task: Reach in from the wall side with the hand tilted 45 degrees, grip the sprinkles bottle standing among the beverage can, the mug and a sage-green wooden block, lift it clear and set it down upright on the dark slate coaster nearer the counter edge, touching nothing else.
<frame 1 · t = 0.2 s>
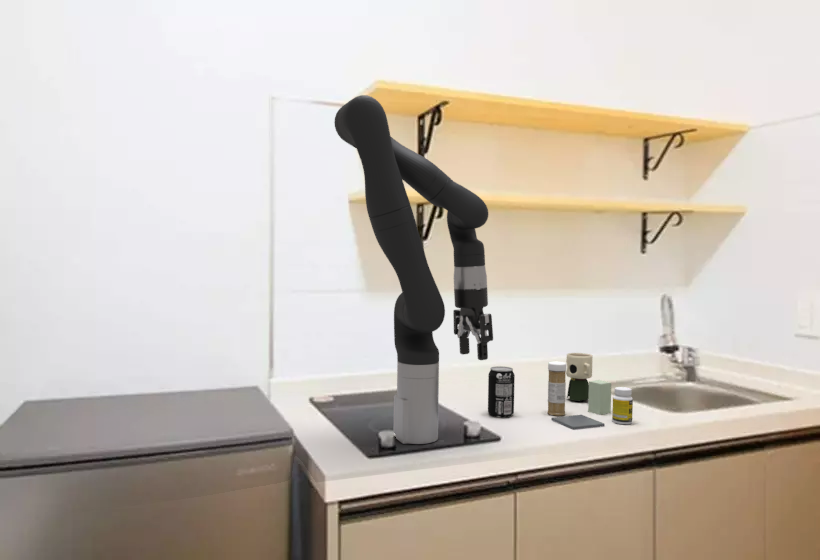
hand: (473, 356, 147), 18 cm above the table, tool pointing down, fingers open, 8 cm apart
sage block: (599, 412, 168), on the table
slate coaster: (577, 423, 157), on the table
character mug: (578, 401, 181), on the table
sprinkles bottle: (556, 414, 165), on the table
supplement bottle: (622, 423, 158), on the table
beverage can: (500, 415, 164), on the table
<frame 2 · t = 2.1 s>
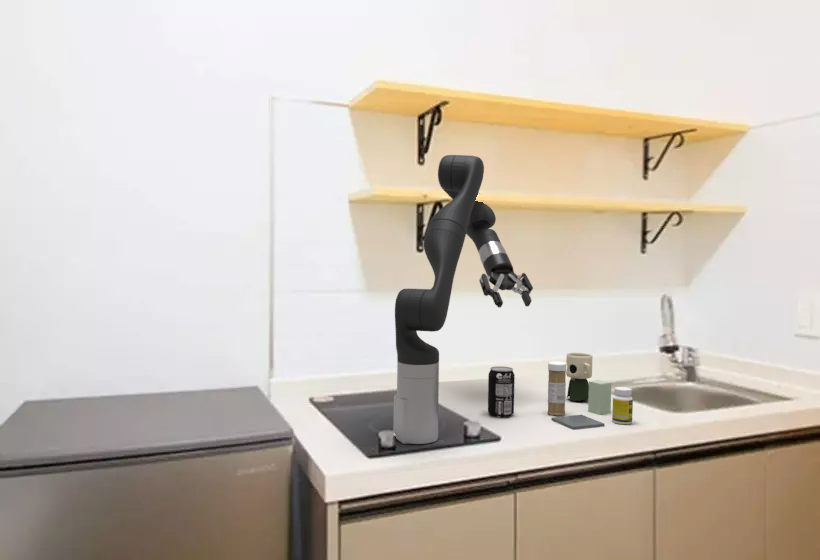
hand: (514, 305, 173), 27 cm above the table, tool tilted 45°, fingers open, 8 cm apart
nothing on the table moved.
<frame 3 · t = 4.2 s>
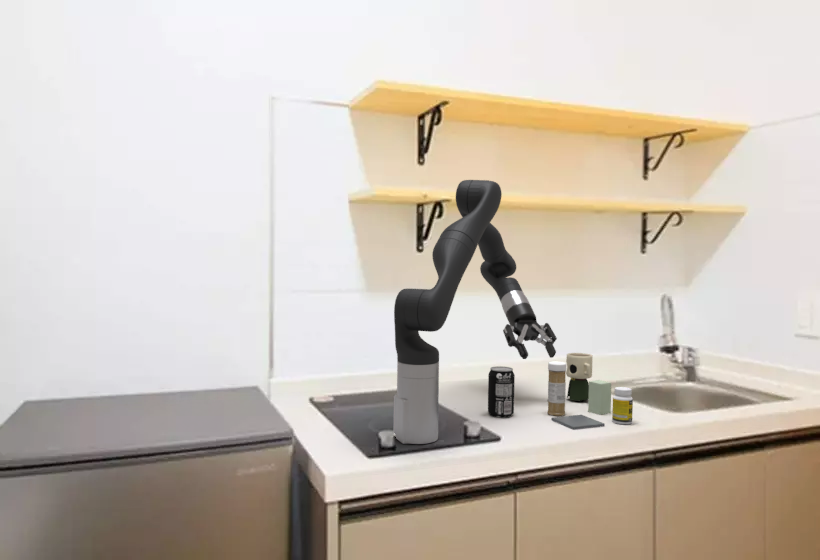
hand: (539, 356, 172), 14 cm above the table, tool tilted 45°, fingers open, 8 cm apart
nothing on the table moved.
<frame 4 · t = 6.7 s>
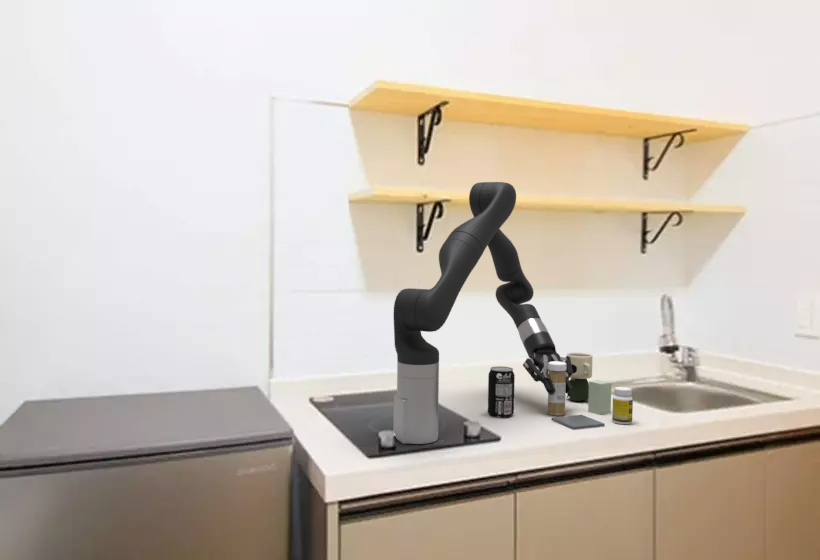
hand: (561, 392, 163), 6 cm above the table, tool tilted 45°, fingers closed on sprinkles bottle, 4 cm apart
sprinkles bottle: (556, 414, 165), on the table, touching gripper
everything else where it was.
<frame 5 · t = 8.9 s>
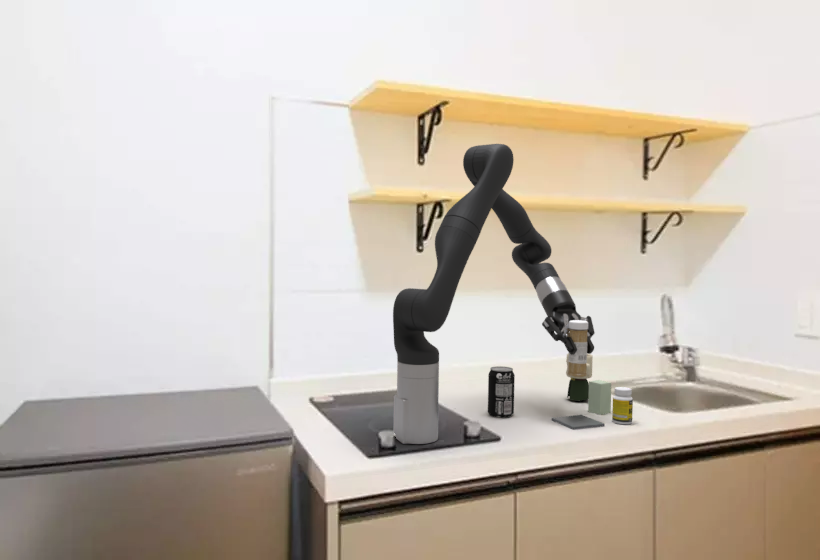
hand: (582, 351, 155), 18 cm above the table, tool tilted 45°, fingers closed on sprinkles bottle, 4 cm apart
sprinkles bottle: (576, 376, 157), point 11 cm above the table, touching gripper
everything else where it was.
when the fingers open (8 cm above the table, at t = 11.2 s): sprinkles bottle stays where it is, resting on slate coaster.
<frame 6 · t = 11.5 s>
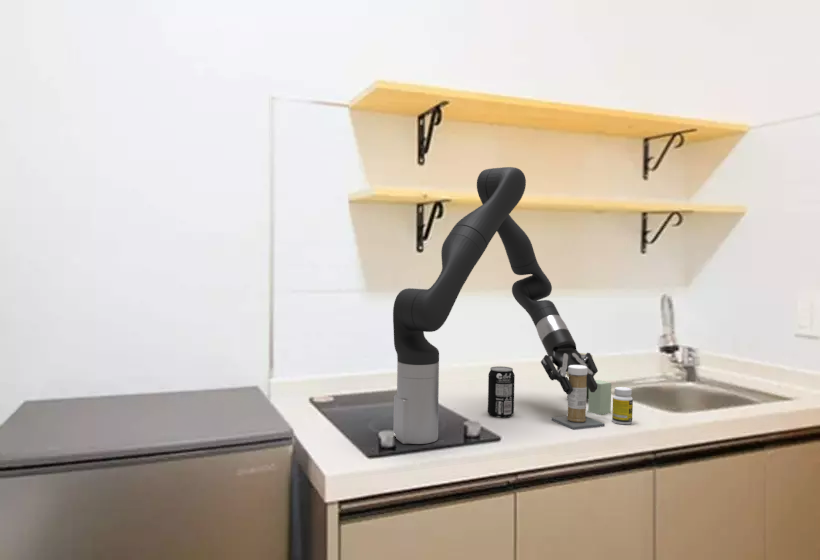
hand: (582, 391, 155), 8 cm above the table, tool tilted 45°, fingers open, 6 cm apart
sprinkles bottle: (576, 421, 157), resting on slate coaster
everything else where it was.
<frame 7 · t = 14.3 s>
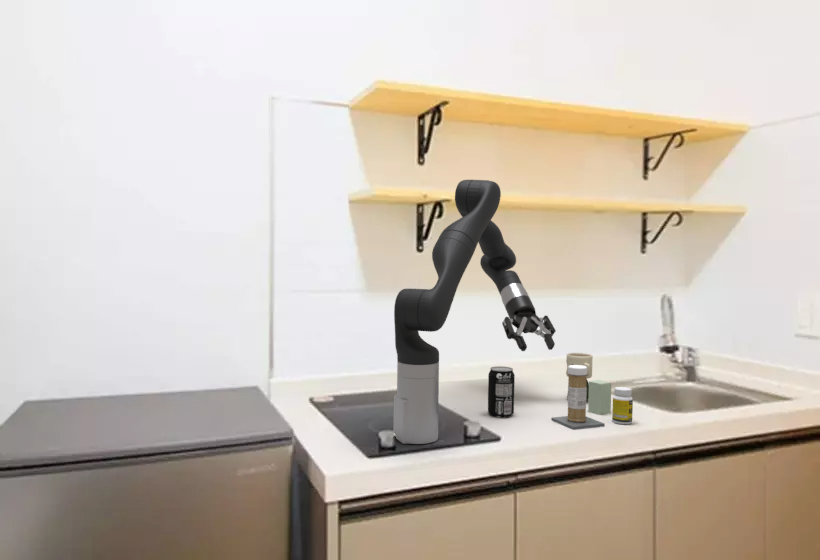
hand: (538, 348, 174), 16 cm above the table, tool tilted 45°, fingers open, 8 cm apart
nothing on the table moved.
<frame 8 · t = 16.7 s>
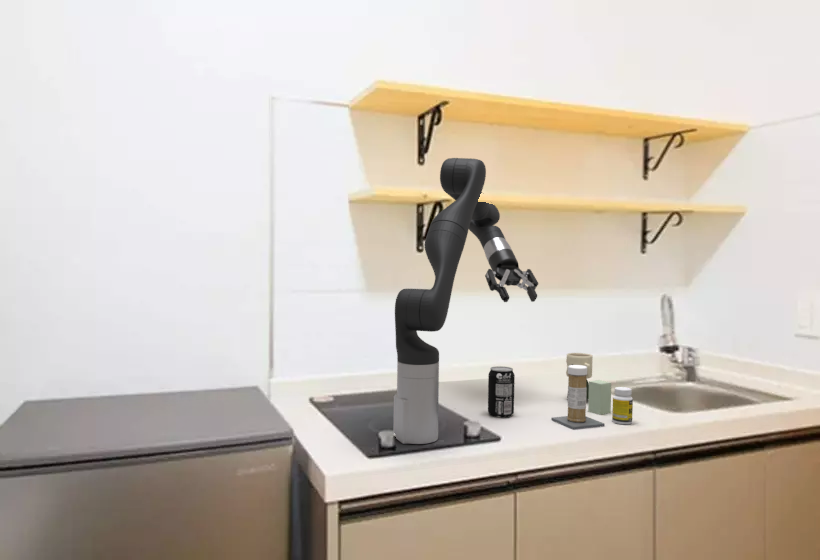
hand: (520, 300, 173), 29 cm above the table, tool tilted 45°, fingers open, 8 cm apart
nothing on the table moved.
at the end: sprinkles bottle inside the target area on the slate coaster (0.3 cm from its centre), point 0.4 cm above the slate coaster's base; sprinkles bottle tilted 0°; sage block moved 0.0 cm from its start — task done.
